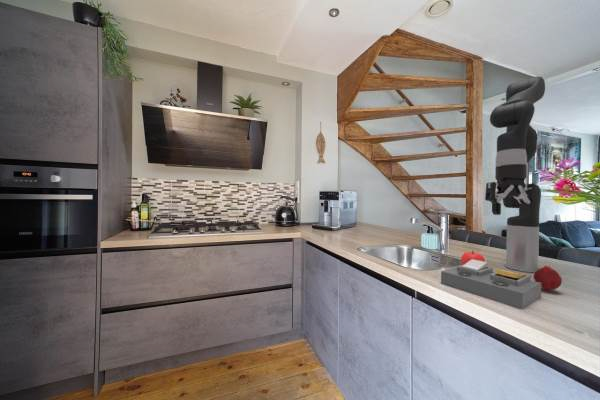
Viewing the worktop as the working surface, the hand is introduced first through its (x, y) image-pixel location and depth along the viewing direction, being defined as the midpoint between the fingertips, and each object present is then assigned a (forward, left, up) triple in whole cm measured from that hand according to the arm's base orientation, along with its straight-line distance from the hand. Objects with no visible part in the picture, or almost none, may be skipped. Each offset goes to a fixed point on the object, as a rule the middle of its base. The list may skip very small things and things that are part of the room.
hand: (509, 215), depth 75 cm
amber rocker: (+8, +3, -17) cm, 19 cm away
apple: (-6, -12, -23) cm, 27 cm away
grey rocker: (+8, -6, -17) cm, 20 cm away
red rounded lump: (-4, +8, -23) cm, 24 cm away
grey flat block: (+11, -2, -23) cm, 25 cm away
